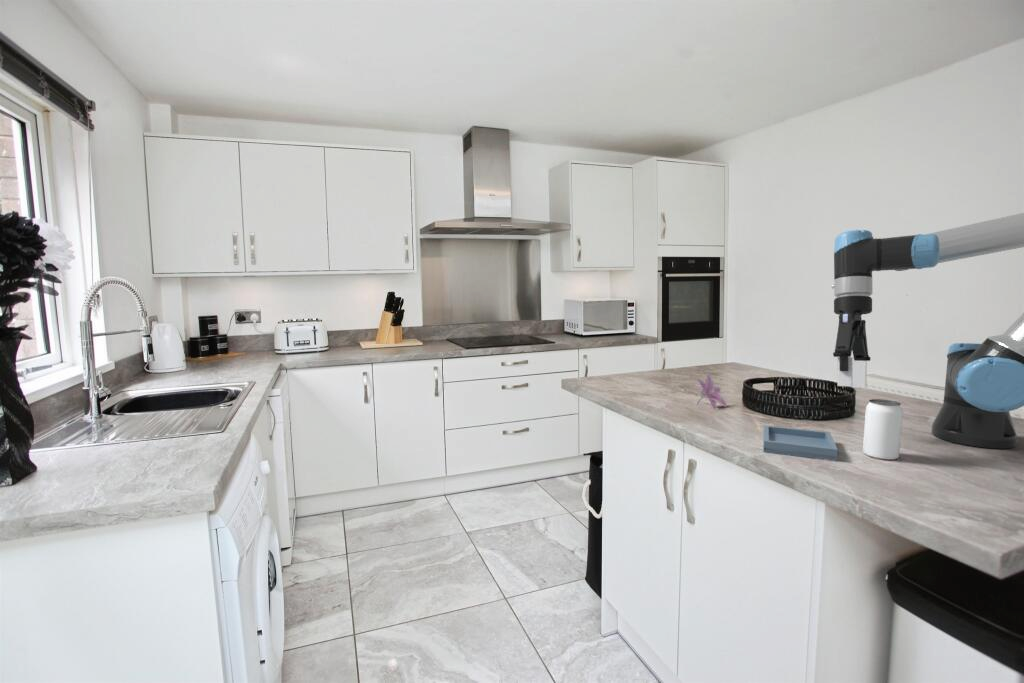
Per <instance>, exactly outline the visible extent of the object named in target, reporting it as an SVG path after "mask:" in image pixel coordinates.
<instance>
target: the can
mask: <svg viewBox="0 0 1024 683" xmlns="http://www.w3.org/2000/svg"><path fill="white" fill-rule="evenodd" d="M902 424H903V409H902V406H901V403H900V402H899V401H895V400H891V399H882V398H880V399H879V398H876V399H875V398H871V399H869V400H868V404H867V405H866V406H865V417H864V427H863V428H864V429H863V442H862V446H863V447H862V452H863V453H864V455H865V456H868V457H869V458H872V459H876V458H877V459H876V460H881V459H884V460H883V461H894V460H897V459H898V458H900V451H901V450H900V449H901V437H902V426H903V425H902Z"/></svg>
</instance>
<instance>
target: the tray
mask: <svg viewBox="0 0 1024 683" xmlns="http://www.w3.org/2000/svg"><path fill="white" fill-rule="evenodd" d="M763 453H769V454H775V455H777V454H778V455H784V456H785V455H786V456H794V457H801V456H802V458H808V457H810V458H809V459H816V458H818V460H824V459H828V460H827V461H832V460H834V461H833V462H837V461H838V448H837V445H836V443H835V440H834V439H833V435H832V434H831V432H830V431H822V430H813V429H805V428H803V429H802V428H795V427H793V428H792V427H784V426H783V427H782V426H774V425H765V424H764V425H763Z"/></svg>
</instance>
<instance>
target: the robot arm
mask: <svg viewBox="0 0 1024 683" xmlns="http://www.w3.org/2000/svg"><path fill="white" fill-rule="evenodd" d="M1022 248H1024V212H1021V213H1016V214H1013V215H1008V216H1003V217H1002V216H1001V217H999V218H993V219H989V220H986V221H984V220H983V221H980V222H976V223H971V224H966V225H963V226H957V227H952V228H949V229H943V230H939V231H934V232H931V233H926V234H921V233H918V234H914V235H913V234H912V235H903V236H894V237H893V236H892V237H886V238H885V237H883V238H874V236H873V233H872V232H871V231H870V230H866V229H861V230H859V229H853V230H848V231H847V230H846V231H843V232H840V233H839V234H838V235H836V237H835V239H834V248H833V249H834V251H833V269H834V270H833V274H834V275H833V276H834V277H833V279H834V282H833V283H834V284H832V285H831V288H832V289H833V290H834V292H833V293H834V294H833V296H834V297H835V298H834V299H833V313H834V314H836V315H838V328H837V334H836V342H835V346H834V347H835V348H834V351H833V353H832V354H833V357H834V358H837V387H852V388H863V389H865V388H866V389H867V361H868V362H870V361H871V356H869V348H868V340H867V331H866V320H865V319H862V316H863V315H868V314H871V313H873V298H872V297H871V296H872V295H873V272H881V271H897V272H900V271H907V270H916V269H917V270H922V269H930V268H935V267H936V266H937V265H938V264H942V263H946V262H947V263H948V262H952V261H957V260H961V259H962V260H963V259H967V258H972V257H978V256H983V255H989V254H994V253H995V254H996V253H999V252H1000V253H1001V252H1005V251H1006V252H1007V251H1011V250H1016V249H1022ZM852 356H853V357H852ZM946 357H947V359H946V360H947V361H946V362H947V363H946V371H945V372H946V373H945V382H944V384H945V385H944V394H943V403H942V406H941V407H940V410H939V411H938V413H937V415H936V417H935V419H934V420H933V422H932V424H931V434H932V435H933V436H935V437H936V438H939V439H940V440H944V441H947V442H952V443H954V444H959V445H965V446H971V447H978V448H987V449H1012V448H1016V447H1017V442H1018V435H1017V432H1016V429H1015V426H1014V422H1013V419H1012V417H1011V413H1010V411H1016V410H1018V409H1021V408H1022V407H1024V312H1022V314H1021V315H1020V316H1019V317H1018V318H1017V319H1016V320H1015V321H1014V322H1013V323H1012V324H1011V325H1010V326H1009V327H1008V328H1007V330H1005V332H1003V333H1002V334H999V335H991V336H987V338H986V339H985V340H984V341H983V342H982V343H972V342H971V343H968V342H967V343H965V342H964V343H963V342H956V343H952V344H950V345H949V346H948V352H947V353H946Z"/></svg>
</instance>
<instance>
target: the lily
mask: <svg viewBox="0 0 1024 683" xmlns="http://www.w3.org/2000/svg"><path fill="white" fill-rule="evenodd" d="M705 376H706V377H705V381H704V380H702V379H701V378H698V377H695V378H696V380H697V382H698V383H699V385H700V386H701V388H702V389H701V391H700V393H699V395H700V397H701V398H699V399H698V401H697V403H696V405H698V404H699V403H700V401H701V400H702V399H703V398H706V399H708V400H709V402H710V404H711V407H712V408H713V410H714V409H715V410H716V409H717V404H720V405H722V406H724V407H725V408H727V407H726V406H728V403H727V402H726V400H725V399H724V398H723V396H722V395H721V391H722V389H721V388H720V387H718V386H715V382H714V380H713V378H712V375H711V374H710V373H709V372H706V375H705Z"/></svg>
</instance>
